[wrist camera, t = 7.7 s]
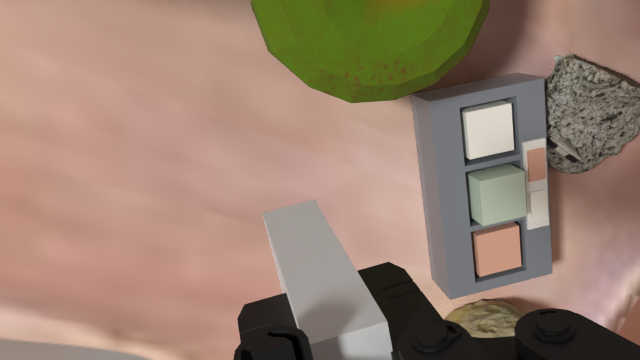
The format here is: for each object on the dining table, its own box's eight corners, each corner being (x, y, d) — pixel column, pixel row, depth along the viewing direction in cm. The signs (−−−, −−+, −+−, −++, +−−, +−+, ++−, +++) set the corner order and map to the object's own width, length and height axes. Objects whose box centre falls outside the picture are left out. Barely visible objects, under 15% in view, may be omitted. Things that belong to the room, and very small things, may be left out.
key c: (464, 225, 43) (476, 236, 41) (504, 216, 43) (518, 225, 42) (467, 265, 44) (480, 276, 42) (507, 255, 44) (521, 266, 43)
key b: (466, 173, 41) (479, 181, 39) (509, 163, 41) (524, 171, 39) (470, 216, 42) (483, 226, 40) (512, 206, 42) (527, 215, 40)
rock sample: (515, 190, 40) (641, 130, 34) (480, 93, 43) (591, 22, 37) (587, 199, 47) (703, 150, 41) (553, 115, 50) (657, 57, 44)
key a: (453, 107, 40) (465, 112, 38) (496, 98, 41) (511, 103, 39) (457, 152, 41) (469, 159, 39) (499, 143, 42) (514, 149, 40)
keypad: (410, 94, 41) (431, 102, 37) (517, 72, 42) (547, 78, 38) (431, 278, 45) (452, 302, 42) (527, 254, 46) (555, 275, 43)
